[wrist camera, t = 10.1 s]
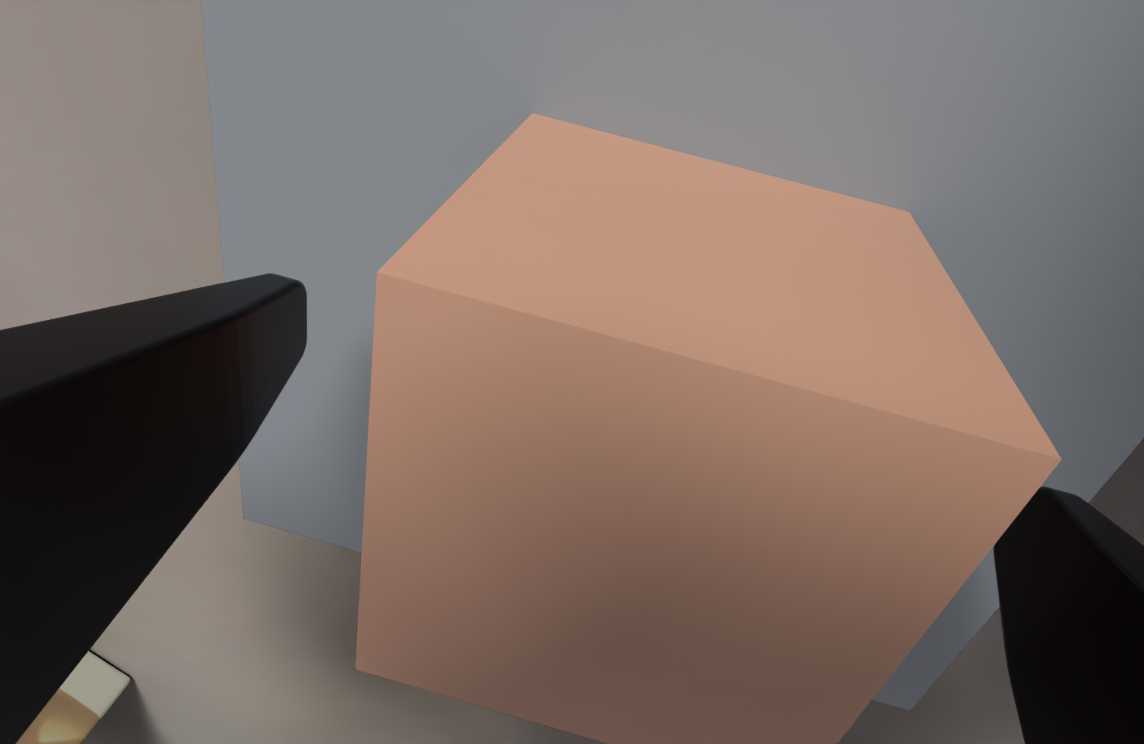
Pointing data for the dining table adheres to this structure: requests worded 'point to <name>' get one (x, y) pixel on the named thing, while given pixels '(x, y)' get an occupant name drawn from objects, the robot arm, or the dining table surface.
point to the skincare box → (77, 704)
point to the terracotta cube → (673, 447)
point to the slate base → (712, 131)
